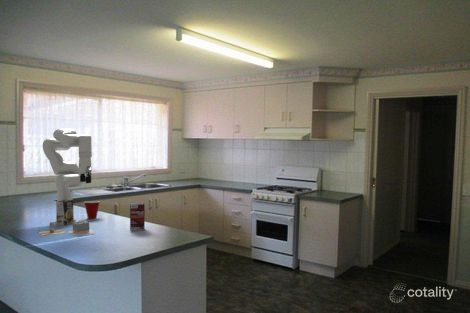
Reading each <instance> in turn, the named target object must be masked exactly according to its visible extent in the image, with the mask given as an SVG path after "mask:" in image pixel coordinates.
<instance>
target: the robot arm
mask: <svg viewBox="0 0 470 313" xmlns="http://www.w3.org/2000/svg"><path fill="white" fill-rule="evenodd" d="M52 136H53V138H46V139H44V140H43V142H42V152H43V154H44V155H45V157H46V158H47V160H48V161H49V163H50V166H51V169H52V172H53V174H54V175H55V176H56V177H55V178H54V179H55V182H54V183H55V189H56V200H57V201H56V202H58V201H62V200H73V201H74V198H73V197H74V196H73V193H72V192H71V191H70V189H79V188H81V187H82V186H83V184H84V183H85V184H91V183H92V171H93V170H92V157H93V154H92V151H93V150H92V147H93V146H92V136H91V134H90V135H89V134H78V133H77V132H76V130H75V129H72V128H59V129H58V128H57V129H55V130H54V132H52ZM71 148H78V164H77V163H76V162H74V161H65V160H64V158H63V156H62V155H61V154H60V153H59V152H57V151H68V150H70V149H71ZM76 220H77V219H76V218H75V217H74V222H77V221H76ZM54 223H56V219H55V220H54Z"/></svg>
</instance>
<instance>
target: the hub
mask: <svg viewBox="0 0 470 313" xmlns="http://www.w3.org/2000/svg"><path fill="white" fill-rule="evenodd" d="M83 221H84V219H79V220H78V222H79V223H83ZM66 233H69V234H70V235H73V236H77V238H78V237H80V235H83V237H84V236H86V237H87V235H84V234H89V236H90V235H93V233H96V231H95V230H93V229H91V228H89V230H86V231H80V232H76V231H74V230H73V229H72V230H68V231H66ZM91 233H92V234H91Z"/></svg>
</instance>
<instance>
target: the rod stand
mask: <svg viewBox="0 0 470 313" xmlns="http://www.w3.org/2000/svg"><path fill="white" fill-rule="evenodd" d="M65 233H67V231H65V230H64V229H61V228H57V229H55V221H52V222H49V230H42V231H38V234H40V235H41V236H43V237H45V236H52V235H58V234H65Z"/></svg>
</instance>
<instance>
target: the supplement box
mask: <svg viewBox="0 0 470 313" xmlns="http://www.w3.org/2000/svg"><path fill="white" fill-rule="evenodd" d="M145 209H146V208H145V203H144V202H142V203H139V202H137V203H130V204H129V231H130V232H133V231H145V230H146V228H145V219H146V218H145V213H146V212H145Z"/></svg>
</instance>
